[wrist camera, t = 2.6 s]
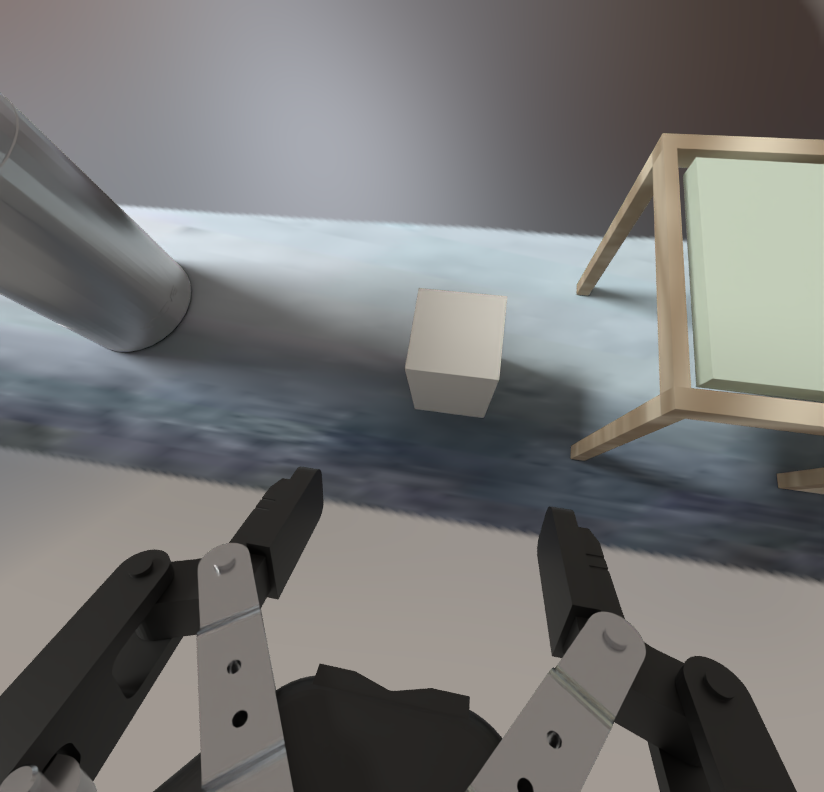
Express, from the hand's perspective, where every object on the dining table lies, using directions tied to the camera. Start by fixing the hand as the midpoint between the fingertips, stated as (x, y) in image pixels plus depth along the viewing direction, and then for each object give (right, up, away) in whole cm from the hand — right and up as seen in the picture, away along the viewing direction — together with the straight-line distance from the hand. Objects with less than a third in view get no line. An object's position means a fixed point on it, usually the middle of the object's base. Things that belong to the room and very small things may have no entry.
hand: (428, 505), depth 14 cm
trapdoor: (+17, +9, +3) cm, 20 cm away
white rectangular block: (+2, +5, +15) cm, 16 cm away
